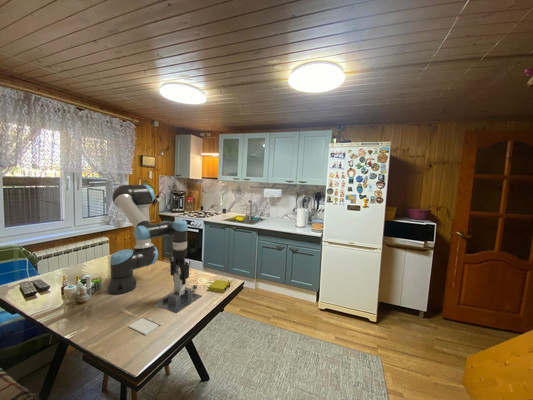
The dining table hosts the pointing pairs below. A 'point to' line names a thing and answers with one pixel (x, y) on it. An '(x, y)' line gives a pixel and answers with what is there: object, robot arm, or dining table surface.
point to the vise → (178, 300)
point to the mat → (144, 326)
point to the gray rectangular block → (177, 284)
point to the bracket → (218, 286)
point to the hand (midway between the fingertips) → (179, 288)
